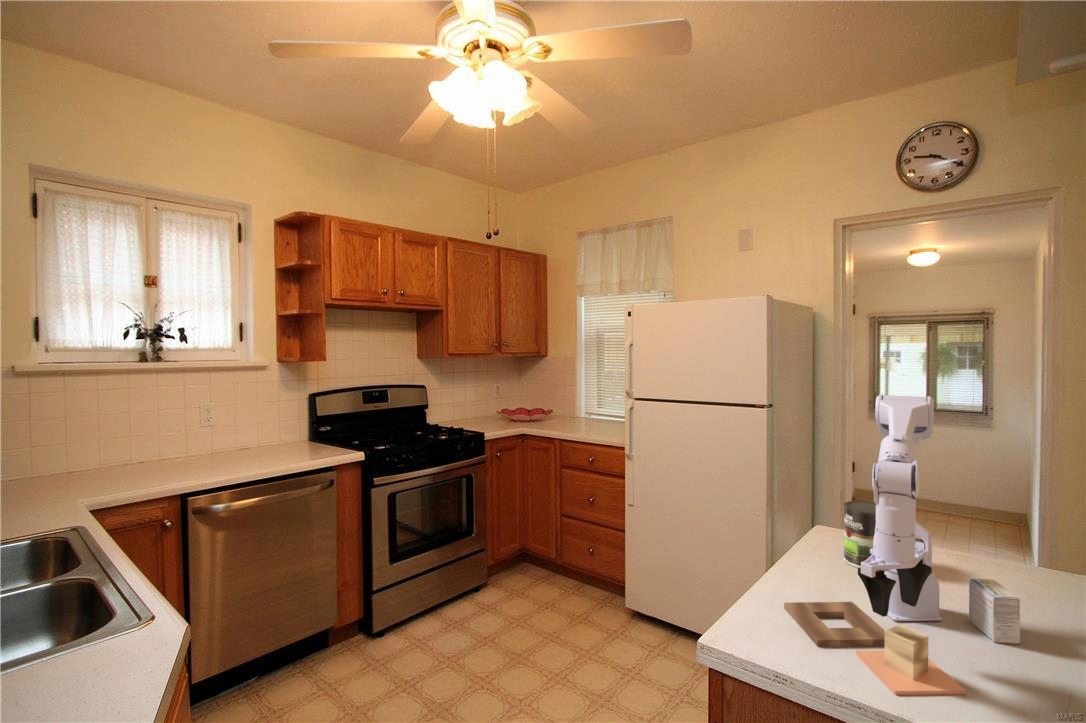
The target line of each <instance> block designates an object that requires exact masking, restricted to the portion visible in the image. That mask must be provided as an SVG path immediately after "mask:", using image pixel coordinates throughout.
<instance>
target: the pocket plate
mask: <svg viewBox="0 0 1086 723" xmlns="http://www.w3.org/2000/svg"><path fill="white" fill-rule="evenodd" d="M783 609H784V610H785V611H786V612H787V613H788V614H789V616H790V617H791V618H792V619H793V621H795V623H796V624H797V626H799V627H800V629H802V631H803V632H804V633H805V634H806V636H808V637H809V639H810V640H811V641H812V642H813V643H814V644H815V646H817V647H877V646H878V647H883V646H884V647H885V631H886V630H885V629H884V628H883V627H881V625H880V624H878V623H877V622H876V621H875V620H874V619H872V618H871V617H870V616H869V615H868V614H867V613H866V612H864V611H863V610H862V609H861V608H860V607H859V606H857V605H856V604H855V603H854V602H853V601H825V602H824V601H823V602H822V601H814V602H813V601H810V602H809V601H808V602H804V601H803V602H783ZM826 618H827V619H828V618H830V619H831V618H832V619H833V618H835V619H837V618H838V619H840V618H843V619H844V621H846V622H847V623H848V624H849V625H850V626H851V627H828V626H827V625H826V624H825V623H824V622H823V621H822V620H821V619H826Z"/></svg>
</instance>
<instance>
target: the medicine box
mask: <svg viewBox="0 0 1086 723" xmlns="http://www.w3.org/2000/svg"><path fill="white" fill-rule="evenodd" d="M968 584H969V588H968V590H969V591H968V592H969V593H968V594H969V596H968V598H969V600H968V601H969V602H968V604H969V605H968V609H969V610H968V611H969V612H968V616H969V617H968V618H969V622H971V623H972V624H973V625H974V626H975V627H977V629H978V630H979V631H981V632H982V633H983V634H984V635H985V636H986V637H987V638H989V639H990V640H991V641H992V642H993V643H998V644H1013V645H1014V644H1015V645H1019V644H1020V643H1021V598H1020V597H1019V596H1018V595H1016V594H1015V593H1013V592H1012V591H1010V590H1009V589H1007V588H1006V587H1005V586H1003V585H1002V584H1000V583H999V582H997V581H996V580H995V579H990V578H989V579H988V578H987V579H986V578H969V582H968Z"/></svg>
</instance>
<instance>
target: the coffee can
mask: <svg viewBox="0 0 1086 723" xmlns="http://www.w3.org/2000/svg"><path fill="white" fill-rule="evenodd" d="M843 508H844V510H843V511H844V516H843V517H844V518H843V519H844V520H843V522H844V525H843V530H844V531H843V561H844V562H845V563H846V564H847V565H849V566H852V567H854V568H857V569H858V568H861V562H863V561H865V560H867V559H868V558H869V557H870V556H871V555H872V554H871V553H870V549H872V548H873V541H874V534H875V527H876V503H874V501H868V500H849V501H845V502H844V503H843Z"/></svg>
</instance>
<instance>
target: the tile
mask: <svg viewBox="0 0 1086 723" xmlns="http://www.w3.org/2000/svg"><path fill="white" fill-rule="evenodd" d="M855 655H856V656H857V658H859V659H860V660H861V662H863V663H864V664H865V666H867V668H869V669H870V671H872V673H873V674H874V675H875V676H876V677H877V678H878V679H879V680H880V681H881V682H882V683H883V684H884V685H885V686H886V688H888V689H889V690H890V691H891V692H892V693H893V694H894V696H896V695H897V696H903V695H905V696H907V695H908V696H913V695H915V696H916V695H919V696H920V695H921V696H922V695H924V696H925V695H966V694H967V693H966V692H967V690H966V689H965V687H963V686H961V685H960V684H959V683H958V682H957V681H955V679H953V678H952V677H951V676H950V675H948V674H947V673H946V672H945V671H943V669H941V668H940V667H939V666H938V665H936V664H935V663H934V662H933V661H932V660H930V658H928V672H927V673H925V674H923V675H922V676H920V677H918V678H916V679H915V680H912V679H910V678H908V677H906V676H904V675H902V674H900V673H898V672H896V671H894V670H892V669H890V668H888V667H886V666H884V659H885V649H884V650H855Z"/></svg>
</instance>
